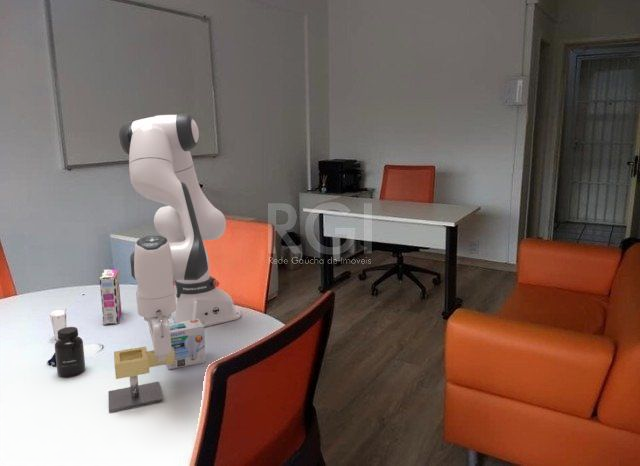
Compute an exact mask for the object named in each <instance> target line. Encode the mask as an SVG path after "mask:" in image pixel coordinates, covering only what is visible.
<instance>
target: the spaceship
mask: <svg viewBox="0 0 640 466" xmlns="http://www.w3.org/2000/svg"><path fill="white" fill-rule="evenodd" d="M46 364H48V365H49V367H51V366H53V367H55V364H56V355H55V352H54V353H53V355H52V356H51V358H50V359H48V360H47V361H46Z"/></svg>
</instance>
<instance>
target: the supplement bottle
mask: <svg viewBox="0 0 640 466" xmlns="http://www.w3.org/2000/svg"><path fill="white" fill-rule="evenodd" d="M78 331H79V330H78V328H77V327H75V326H67V327H66V328H62V329H60V330H58V339H59V340H56V341H55V343H54V351H55V352H54V353H55V355H56V362H55V364H56V372H57V375H58V376H59V377H61V378H69V377H70V378H71V377H75V376H78V375H81V374H82V373H83V372H84V371H85V370H86V362H85V361H86V360H85V359H86V358H85V349H84V348H85V347H84V341H83V339H82V337H80V336H79V332H78Z"/></svg>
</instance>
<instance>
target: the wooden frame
mask: <svg viewBox="0 0 640 466" xmlns="http://www.w3.org/2000/svg"><path fill="white" fill-rule="evenodd" d="M113 356H114V357H113V359H114V362H113V363H114V373H115V374H114V375H115V379H116V380H120V379H124V378H130V377H131V376H136V375H137V376H140V375H146V374H150V368H153V367H159V366H163V365H164V366H166V364H171V363H175V355H174V347H172V353H171V354H170V355H167V356H165V358H166V360H165V361H163V362H158V359H157V357H156V356H155V352H154V349H153V350H152V349H151V350H147V346H141V347H135V348H134V347H133V348H129V349H122V350H116V351H113Z"/></svg>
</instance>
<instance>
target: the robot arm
mask: <svg viewBox="0 0 640 466" xmlns="http://www.w3.org/2000/svg"><path fill="white" fill-rule="evenodd" d="M118 131H119V132H118V138H119V143H120V146H121V149H122V150H123V152H124V153H125V154H126V155H128V165H129V166H128V167H129V168H128V169H129V170H128V171H129V178H130V183H131V186H132V187H133V189H134V190H135V191H136V193H138V194H139V195H140V196H142V197H144V198H146V199H148V200H149V201H154V202H157V203H160V204H164V205H165V206H162V207H159V209H157V210H156V212H155V214H154V217H153V225H154V228H155V230H156V232H157V233H158V234H160V235H147V236H143V237H141V238H139V239H137V240H136V242H135V244H134V251H132V253H131V254H130V258H129V261H130V271H131V277H132V278H133V279H134V280H135V282H136V284H137V288H136V296H135V297H136V306H137V307H136V308H137V314H138V316H140V317H142V318H143V320H144V321H145V322H147V325H148V330H149V334H150V339H151V343H152V347H153V350H154V352H155V356H156V357H157V359H158V362H163V361H165V360H166V358H165V356H167V355H170V354H171V353H172V347H171V335H170V327H169V324H170V323H169V320H170V319H171V318H172V314H173V313H175V314H174V318H173V323H177V322H183V321H188V320H194V319H199V320H200V322H201V323H202V325H203V326H204V328H207V327H209V326H210V327H211V326H214V325H219V324H223V323H227V322H232V321H234V320H235V321H236V320H239V319H240V318H241V316H242V314H241V313H242V312H241V310H240V308H239V307H238V306H237V305H235V304H234V301H233V299H232V297H231V296H230V294H229V293H228V292H226V291H224V290H222V289H221V288H219V286H220V284H221V283H220V282H219V280H218V279H216V278H215V277H214V276H212V275H211V274H210V273H211V272H210V258H209V255H208V251H207V249H206V246H205V244H204V241H205V242H206V241H214V240H219V239H220V238H222V236H223V235H224V233H225V231H226V229H227V220H226V217H225V215H224V214H223V213H224V212H222V211H221V210H220V209H217V207H215V206H214V205H213V203H211V202H210V201H209V199H208V198H207V197H206V195H205V194H204V192H203V190H202V188H201V186H200V183H199V179H198V176H197V173H196V169H195V164H194V162H193V161H194V160H193V157H192V154H191V152H190V151H191V150H193V149H194V148H195V147H196V146H197V145H198V143H199V136H200V135H199V134H200V131H199V127H198V125H197V122H196V120H195V118H193V117H192V116H191V114H189V113H188V114H187V113H177V114H158V115H154V116H150V117H145V118H141V119H137V120H135V119H132V120H129V121H126V122H123V124H121V126H120V128H119V130H118Z"/></svg>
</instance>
